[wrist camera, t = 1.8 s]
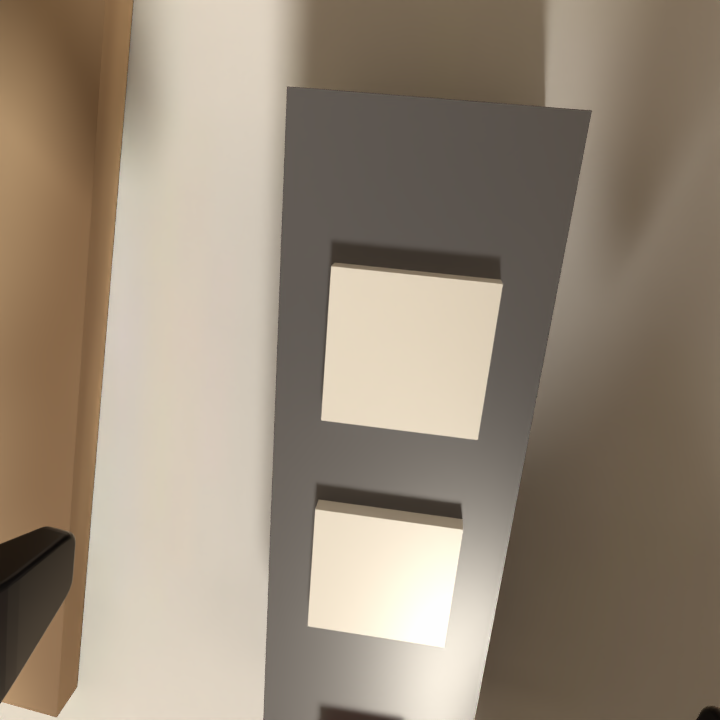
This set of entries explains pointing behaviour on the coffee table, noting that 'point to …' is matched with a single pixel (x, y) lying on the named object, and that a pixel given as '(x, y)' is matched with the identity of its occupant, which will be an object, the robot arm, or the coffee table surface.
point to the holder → (56, 286)
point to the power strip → (405, 390)
